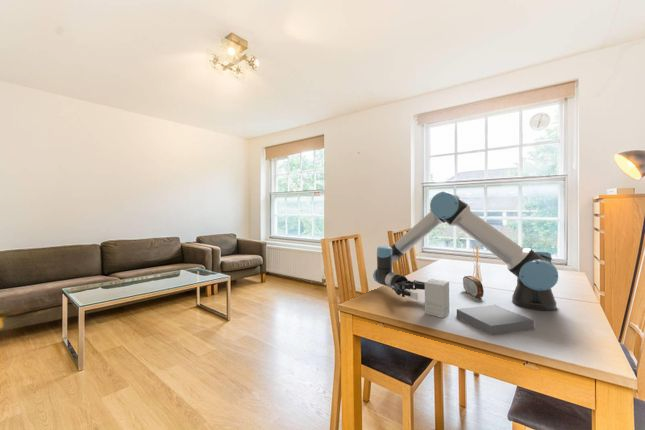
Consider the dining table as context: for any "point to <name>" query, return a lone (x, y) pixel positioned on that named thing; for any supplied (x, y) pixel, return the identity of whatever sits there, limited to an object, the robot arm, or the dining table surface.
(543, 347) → the dining table surface
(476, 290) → the tin
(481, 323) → the gray board
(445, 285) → the supplement box
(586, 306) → the dining table surface
